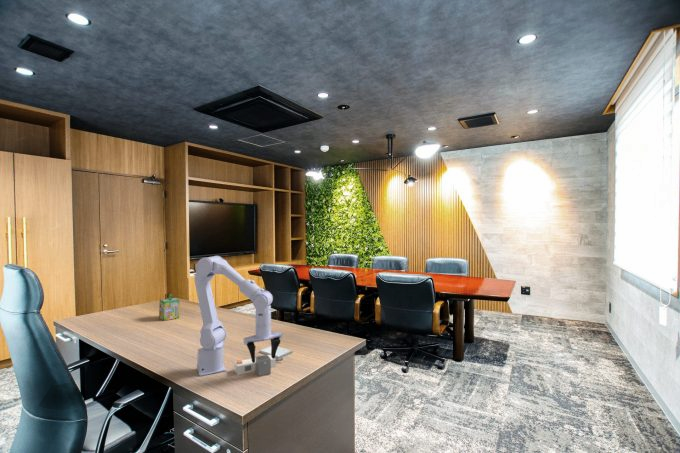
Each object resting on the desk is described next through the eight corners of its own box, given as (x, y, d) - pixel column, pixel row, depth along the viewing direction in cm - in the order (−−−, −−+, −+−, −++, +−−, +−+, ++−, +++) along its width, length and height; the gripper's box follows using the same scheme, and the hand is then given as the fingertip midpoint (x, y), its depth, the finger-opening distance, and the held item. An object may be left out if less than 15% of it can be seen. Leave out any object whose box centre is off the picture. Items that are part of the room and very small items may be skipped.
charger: (259, 376, 122) (259, 361, 122) (254, 369, 128) (254, 355, 128) (270, 373, 124) (270, 359, 124) (265, 367, 130) (265, 353, 130)
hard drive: (292, 350, 145) (273, 344, 153) (279, 356, 139) (259, 349, 146) (292, 354, 145) (273, 348, 153) (278, 360, 139) (259, 353, 146)
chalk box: (158, 318, 202) (158, 294, 202) (174, 315, 208) (175, 292, 208) (163, 321, 195) (163, 296, 195) (179, 318, 201) (179, 294, 201)
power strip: (237, 375, 123) (237, 364, 123) (234, 370, 128) (234, 360, 128) (285, 364, 133) (285, 355, 133) (281, 360, 137) (281, 351, 137)
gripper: (246, 329, 118) (246, 367, 118) (284, 323, 125) (285, 359, 125) (242, 324, 124) (242, 360, 124) (278, 319, 132) (278, 353, 131)
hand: (263, 359), depth 125 cm, fingers open, 7 cm apart
